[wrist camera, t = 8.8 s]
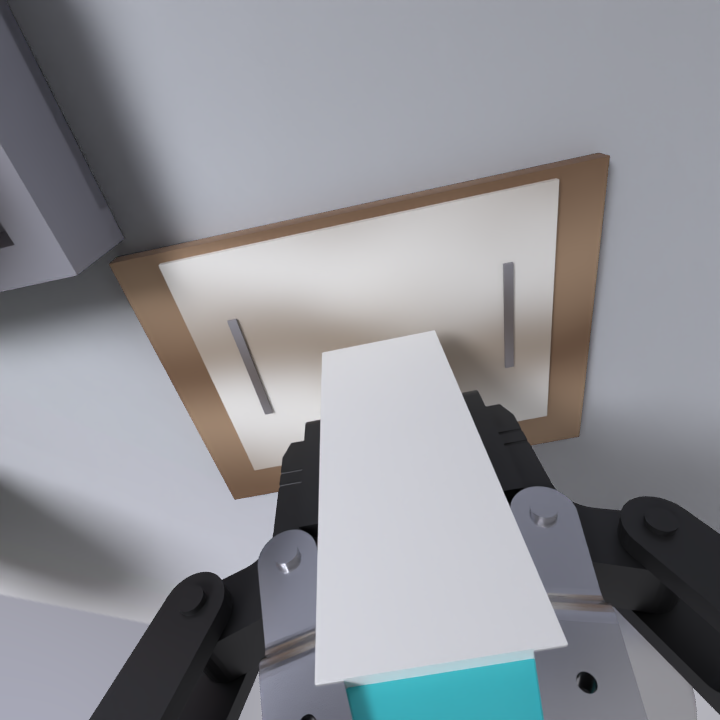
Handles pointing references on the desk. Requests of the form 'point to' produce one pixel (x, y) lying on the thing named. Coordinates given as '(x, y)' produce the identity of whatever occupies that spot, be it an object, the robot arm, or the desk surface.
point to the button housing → (42, 178)
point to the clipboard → (380, 306)
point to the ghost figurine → (657, 679)
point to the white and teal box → (419, 548)
